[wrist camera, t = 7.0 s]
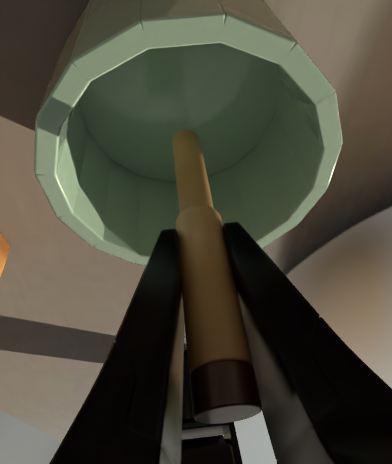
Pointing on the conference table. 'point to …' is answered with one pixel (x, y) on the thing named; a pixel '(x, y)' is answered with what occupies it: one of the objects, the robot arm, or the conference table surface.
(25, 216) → the conference table surface
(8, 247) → the stand
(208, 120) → the cup
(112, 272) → the conference table surface
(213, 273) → the tan brown rod
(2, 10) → the conference table surface
